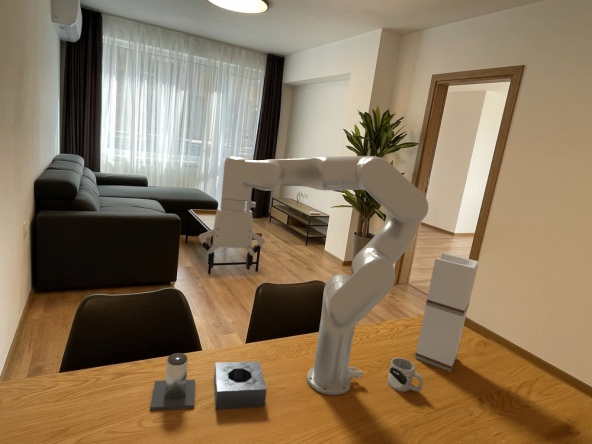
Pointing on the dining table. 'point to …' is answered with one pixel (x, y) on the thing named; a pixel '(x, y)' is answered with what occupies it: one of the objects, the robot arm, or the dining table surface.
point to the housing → (239, 385)
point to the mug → (403, 375)
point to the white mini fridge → (446, 310)
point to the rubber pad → (165, 403)
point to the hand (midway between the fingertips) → (229, 267)
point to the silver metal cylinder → (176, 376)
